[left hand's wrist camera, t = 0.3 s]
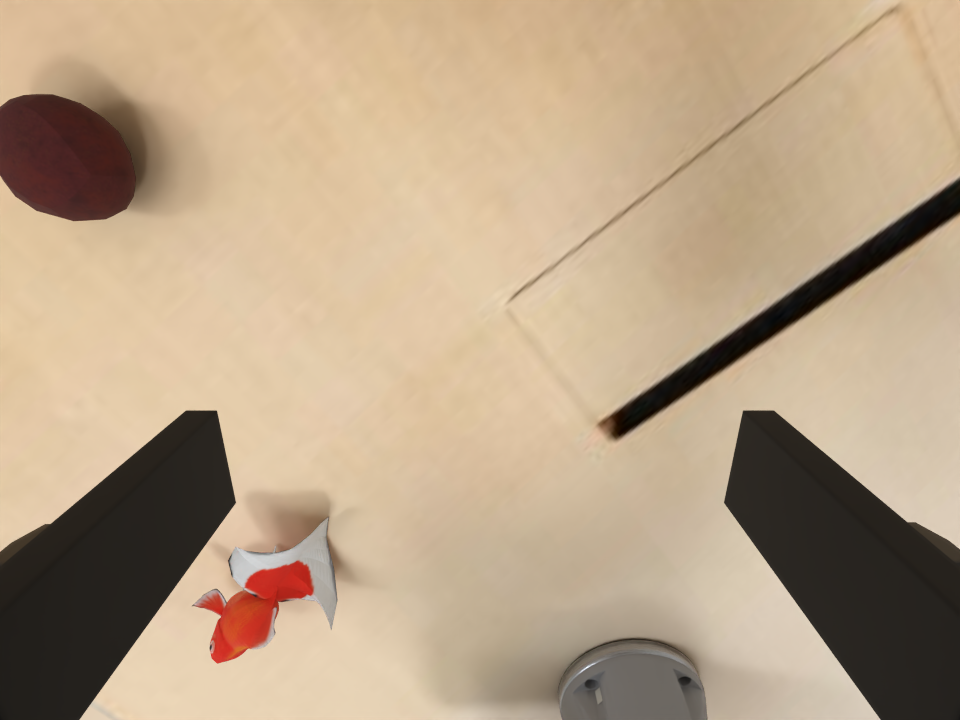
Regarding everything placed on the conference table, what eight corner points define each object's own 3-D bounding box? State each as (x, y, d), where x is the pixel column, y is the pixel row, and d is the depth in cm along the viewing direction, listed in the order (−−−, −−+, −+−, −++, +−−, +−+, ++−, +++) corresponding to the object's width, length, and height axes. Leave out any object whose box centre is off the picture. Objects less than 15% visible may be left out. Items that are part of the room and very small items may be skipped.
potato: (93, 77, 34) (0, 57, 27) (182, 176, 36) (116, 180, 30) (25, 147, 36) (-78, 144, 29) (114, 238, 38) (37, 255, 31)
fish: (139, 586, 44) (141, 684, 36) (287, 463, 47) (318, 530, 40) (228, 630, 51) (245, 721, 43) (352, 519, 54) (389, 586, 46)
